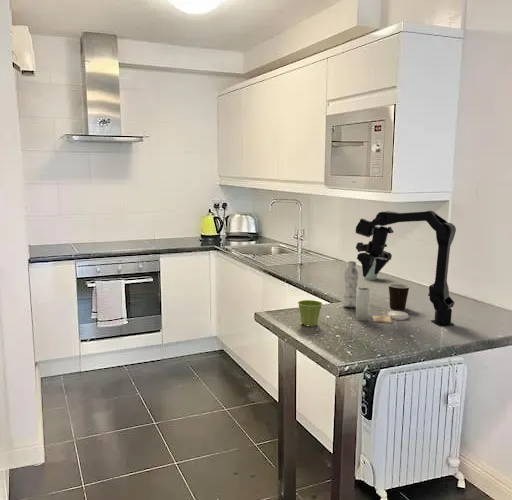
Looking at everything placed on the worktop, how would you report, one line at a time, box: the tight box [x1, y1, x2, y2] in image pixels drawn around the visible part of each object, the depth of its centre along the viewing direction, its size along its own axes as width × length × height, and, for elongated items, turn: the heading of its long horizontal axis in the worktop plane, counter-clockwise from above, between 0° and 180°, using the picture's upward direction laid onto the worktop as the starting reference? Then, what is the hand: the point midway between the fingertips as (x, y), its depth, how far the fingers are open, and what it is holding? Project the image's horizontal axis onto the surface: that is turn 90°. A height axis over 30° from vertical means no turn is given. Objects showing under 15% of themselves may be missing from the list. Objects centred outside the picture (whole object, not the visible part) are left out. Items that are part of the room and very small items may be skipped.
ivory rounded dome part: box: [387, 310, 409, 321], centre depth 212 cm, size 8×8×2 cm
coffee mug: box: [388, 283, 410, 311], centre depth 224 cm, size 12×9×10 cm
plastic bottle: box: [342, 261, 360, 308], centre depth 225 cm, size 6×7×20 cm
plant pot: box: [297, 299, 323, 327], centre depth 199 cm, size 9×9×9 cm
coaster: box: [371, 315, 393, 324], centre depth 208 cm, size 7×7×1 cm
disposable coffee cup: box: [362, 251, 378, 281], centre depth 285 cm, size 11×11×15 cm
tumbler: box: [354, 286, 370, 322], centre depth 208 cm, size 5×5×12 cm
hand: (369, 275), depth 221 cm, fingers open, 9 cm apart
